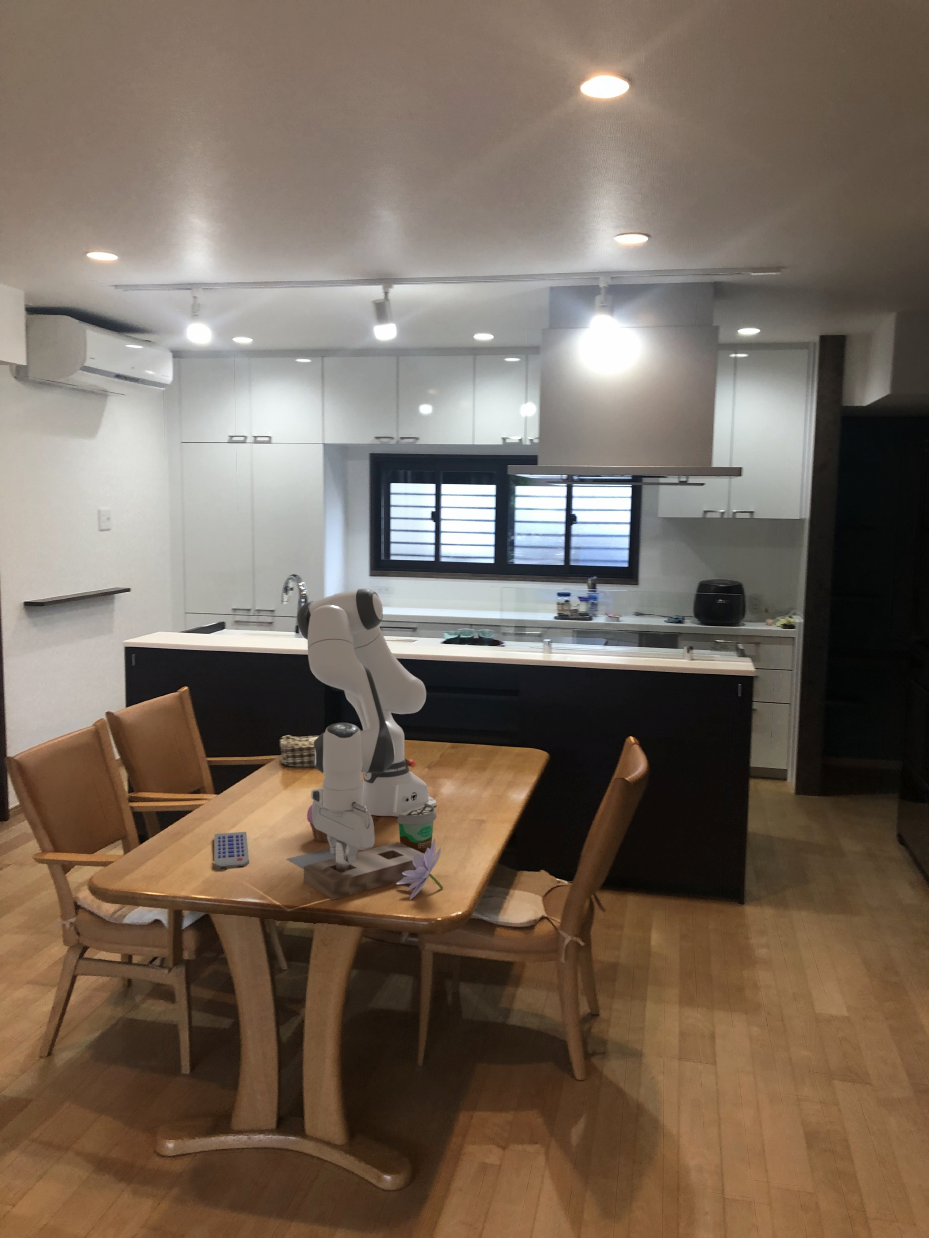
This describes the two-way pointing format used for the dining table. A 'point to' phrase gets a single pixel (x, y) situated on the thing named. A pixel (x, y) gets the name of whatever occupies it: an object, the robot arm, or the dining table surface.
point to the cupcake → (316, 833)
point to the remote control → (230, 850)
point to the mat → (312, 858)
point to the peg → (341, 856)
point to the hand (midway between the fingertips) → (343, 858)
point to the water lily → (421, 870)
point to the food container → (417, 828)
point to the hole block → (362, 871)
